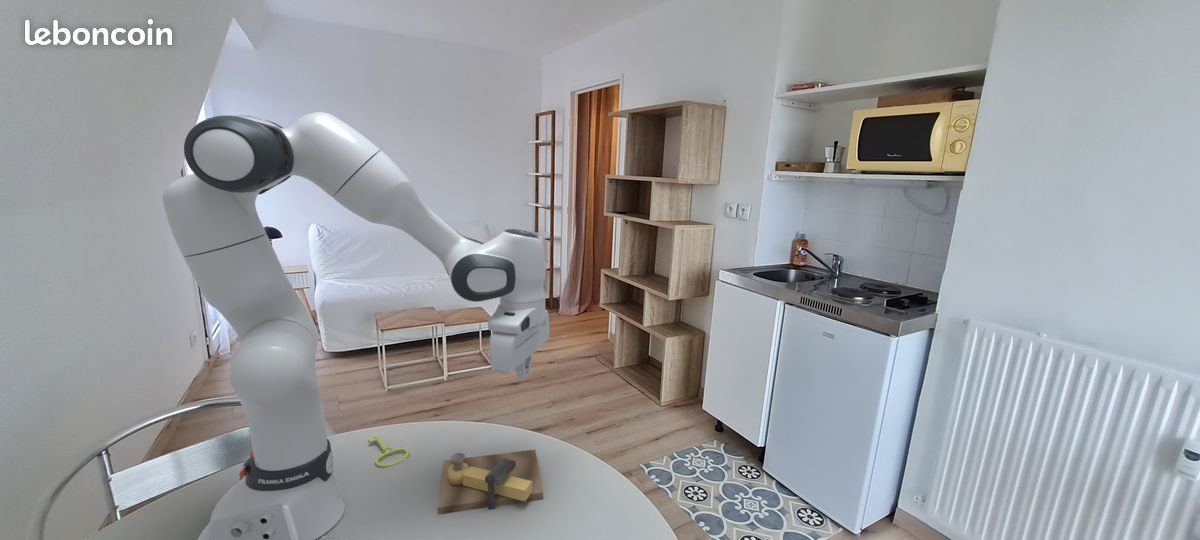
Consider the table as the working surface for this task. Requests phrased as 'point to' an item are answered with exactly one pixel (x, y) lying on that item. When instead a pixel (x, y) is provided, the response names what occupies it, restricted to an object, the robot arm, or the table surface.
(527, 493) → the link
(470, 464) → the board
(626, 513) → the table surface
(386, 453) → the key
